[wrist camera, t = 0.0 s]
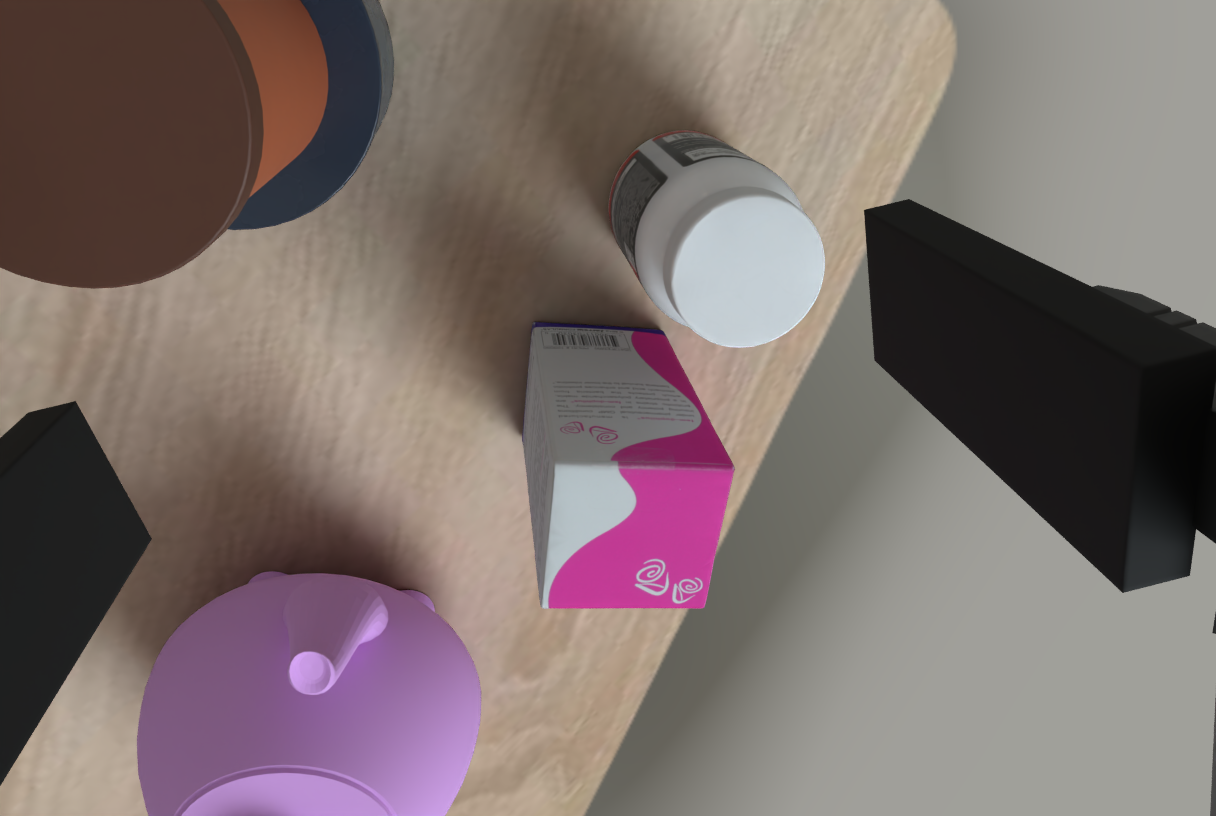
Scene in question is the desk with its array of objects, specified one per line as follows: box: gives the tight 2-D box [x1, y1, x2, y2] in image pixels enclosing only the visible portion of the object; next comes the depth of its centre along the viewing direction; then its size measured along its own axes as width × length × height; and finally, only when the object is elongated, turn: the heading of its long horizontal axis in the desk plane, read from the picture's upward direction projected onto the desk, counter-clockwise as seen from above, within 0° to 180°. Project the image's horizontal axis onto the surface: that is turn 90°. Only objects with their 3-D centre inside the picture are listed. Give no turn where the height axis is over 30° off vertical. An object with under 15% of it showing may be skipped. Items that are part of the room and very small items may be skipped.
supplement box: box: [522, 322, 735, 609], centre depth 32 cm, size 6×6×12 cm
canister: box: [0, 0, 328, 288], centre depth 20 cm, size 7×7×10 cm
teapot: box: [137, 571, 481, 816], centre depth 35 cm, size 20×14×12 cm
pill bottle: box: [609, 130, 825, 348], centre depth 29 cm, size 6×6×10 cm
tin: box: [228, 0, 394, 230], centre depth 27 cm, size 9×9×6 cm
